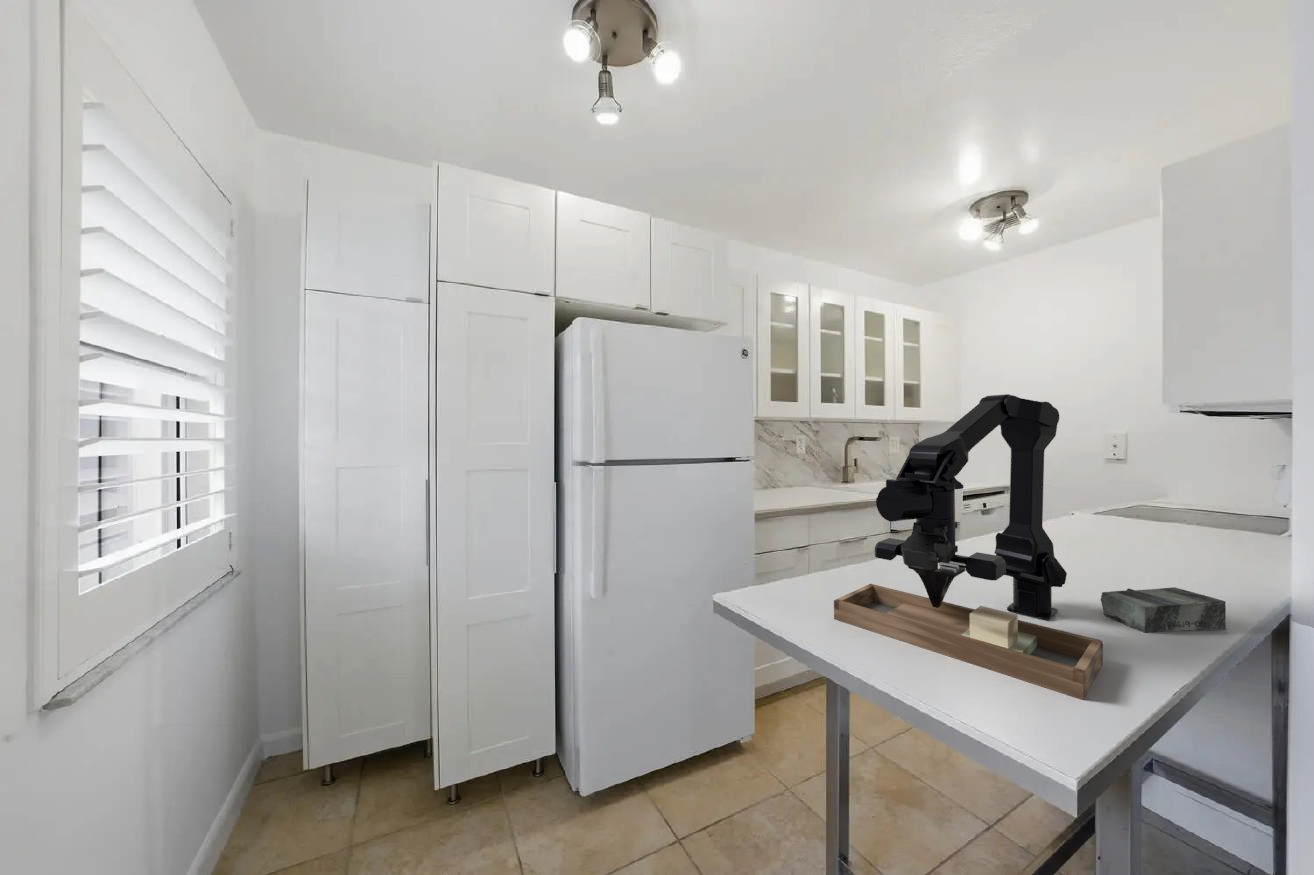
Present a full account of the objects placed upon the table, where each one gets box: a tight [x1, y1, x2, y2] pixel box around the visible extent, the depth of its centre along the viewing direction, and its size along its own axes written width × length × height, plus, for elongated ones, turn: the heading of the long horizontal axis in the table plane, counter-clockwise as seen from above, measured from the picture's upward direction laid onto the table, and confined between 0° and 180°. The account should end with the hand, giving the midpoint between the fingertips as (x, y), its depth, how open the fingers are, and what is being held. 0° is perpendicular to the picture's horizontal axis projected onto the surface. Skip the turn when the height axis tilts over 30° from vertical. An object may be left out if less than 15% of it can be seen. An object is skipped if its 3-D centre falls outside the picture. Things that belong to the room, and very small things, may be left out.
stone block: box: [1100, 586, 1227, 634], centre depth 84 cm, size 9×14×5 cm, turn 91°
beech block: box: [970, 605, 1019, 649], centre depth 74 cm, size 5×5×4 cm
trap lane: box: [833, 583, 1104, 700], centre depth 79 cm, size 14×35×4 cm, turn 39°
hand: (936, 606), depth 81 cm, fingers closed
